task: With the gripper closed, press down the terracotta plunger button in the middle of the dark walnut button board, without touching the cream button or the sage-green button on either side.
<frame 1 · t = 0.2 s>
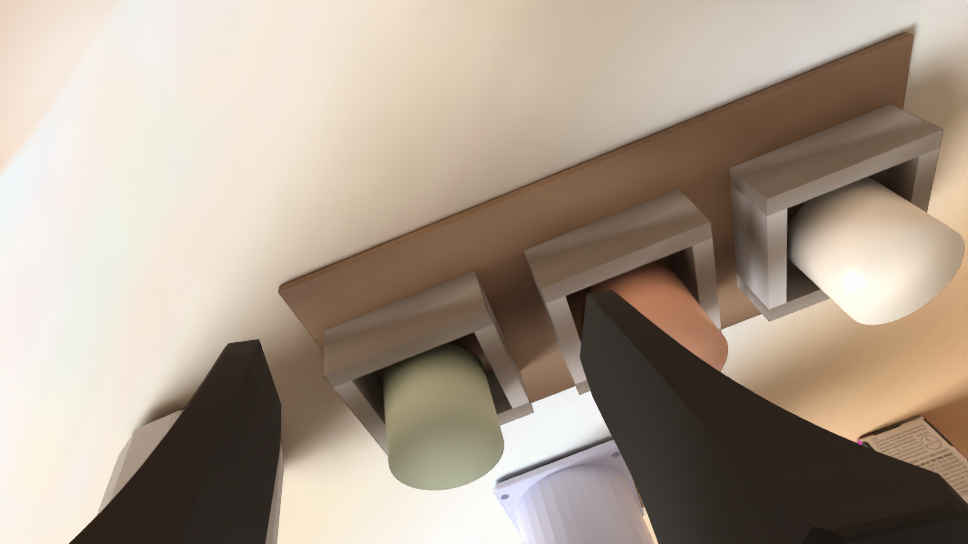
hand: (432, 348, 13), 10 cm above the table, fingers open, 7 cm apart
sage button: (440, 415, 23), point 4 cm above the table, slide at 0.0 cm
candy bar box: (880, 462, 43), on the table
terracotta button: (650, 334, 23), point 4 cm above the table, slide at 0.0 cm
water bottle: (216, 457, 28), on the table
cream button: (867, 249, 22), point 4 cm above the table, slide at 0.0 cm
button board: (611, 273, 26), on the table
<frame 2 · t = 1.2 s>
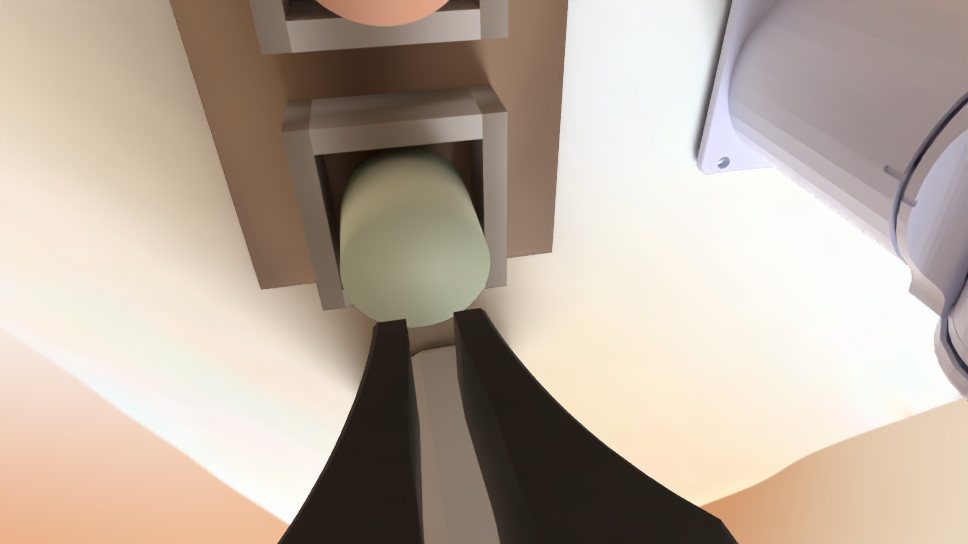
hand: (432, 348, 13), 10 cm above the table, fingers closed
sage button: (411, 236, 18), point 4 cm above the table, slide at 0.0 cm
water bottle: (462, 386, 29), on the table
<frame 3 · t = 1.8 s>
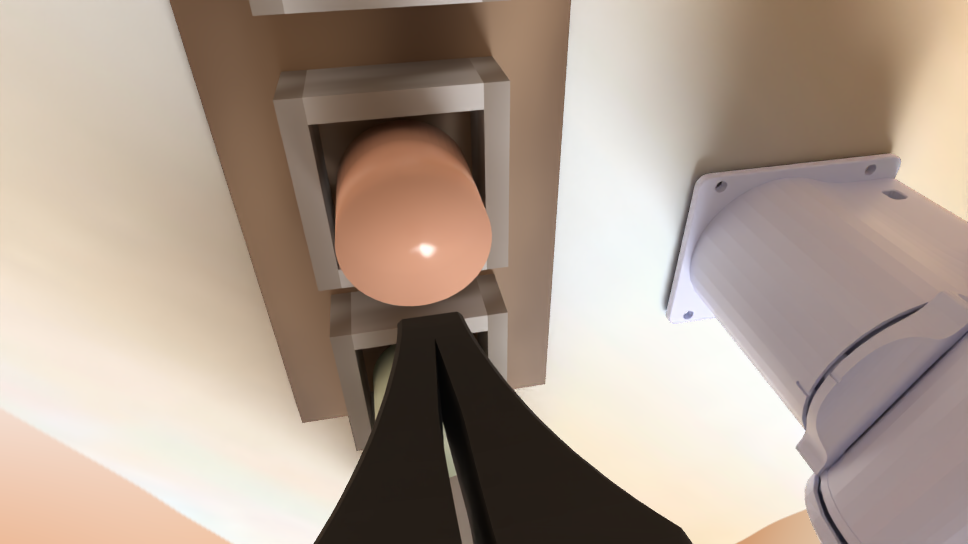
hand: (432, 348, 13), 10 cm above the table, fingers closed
sage button: (430, 406, 23), point 4 cm above the table, slide at 0.0 cm
terracotta button: (409, 211, 18), point 4 cm above the table, slide at 0.0 cm
water bottle: (468, 481, 34), on the table
button board: (399, 155, 21), on the table
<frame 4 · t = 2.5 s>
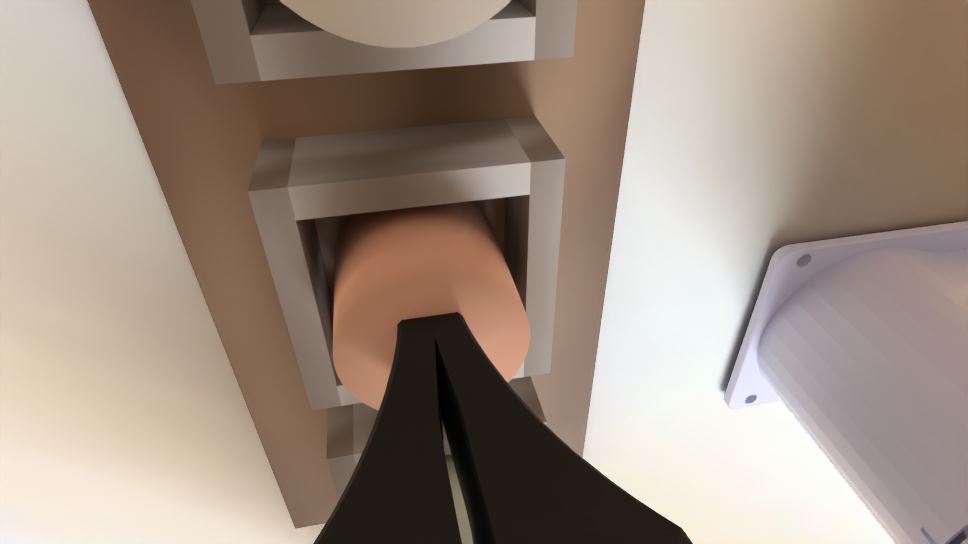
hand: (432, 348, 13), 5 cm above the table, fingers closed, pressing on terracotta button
sage button: (450, 533, 19), point 4 cm above the table, slide at 0.0 cm
terracotta button: (425, 298, 14), point 3 cm above the table, slide at 1.1 cm, touching gripper
button board: (413, 234, 17), on the table
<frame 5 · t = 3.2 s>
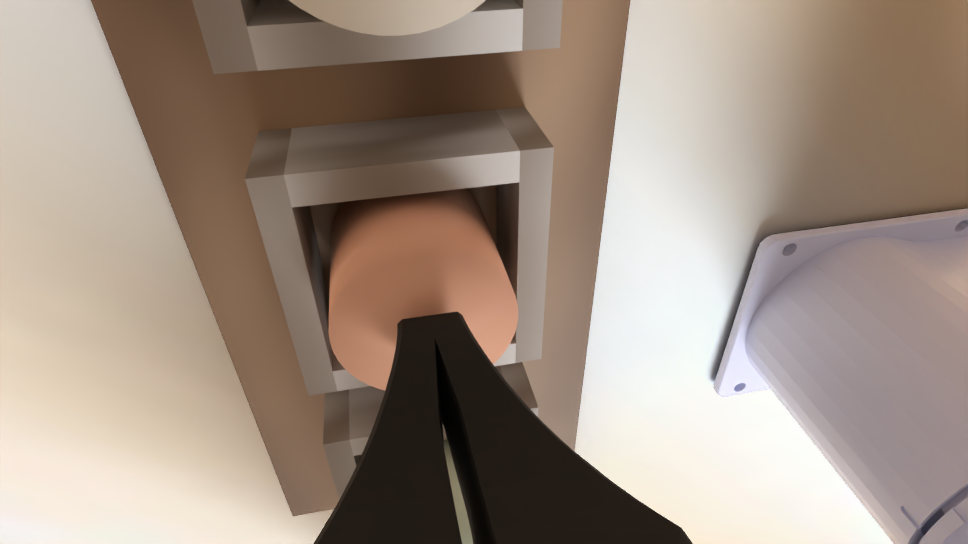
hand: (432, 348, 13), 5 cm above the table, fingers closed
sage button: (445, 517, 19), point 4 cm above the table, slide at 0.0 cm
terracotta button: (417, 279, 15), point 3 cm above the table, slide at 1.3 cm
button board: (407, 223, 17), on the table
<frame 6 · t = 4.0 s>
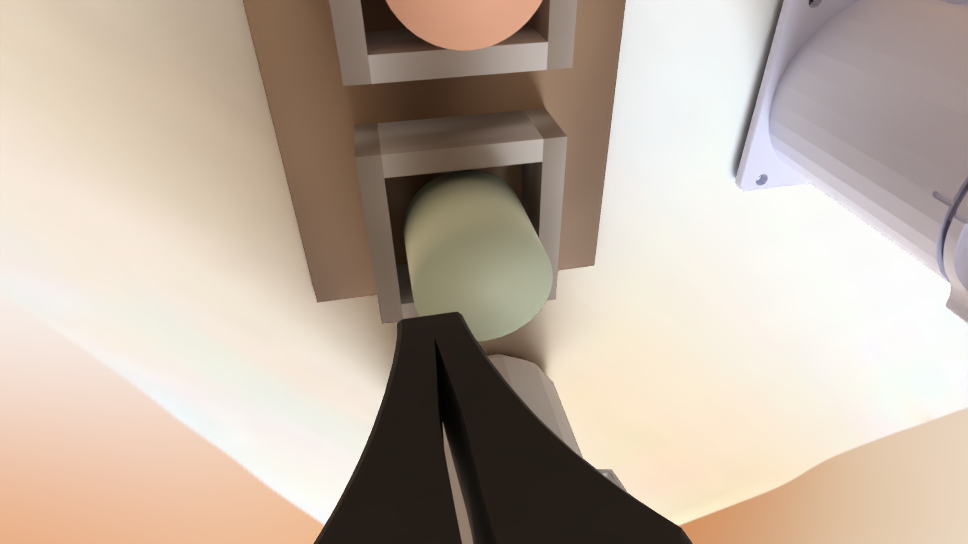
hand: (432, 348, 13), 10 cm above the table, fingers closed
sage button: (473, 254, 19), point 4 cm above the table, slide at 0.0 cm
water bottle: (500, 393, 30), on the table
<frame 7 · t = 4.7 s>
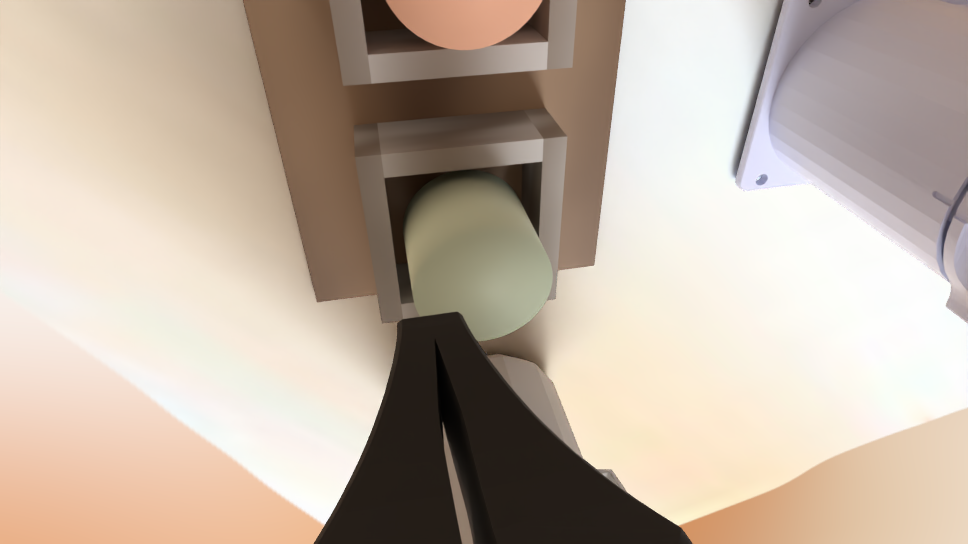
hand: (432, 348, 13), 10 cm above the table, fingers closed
sage button: (473, 254, 19), point 4 cm above the table, slide at 0.0 cm
water bottle: (500, 393, 30), on the table
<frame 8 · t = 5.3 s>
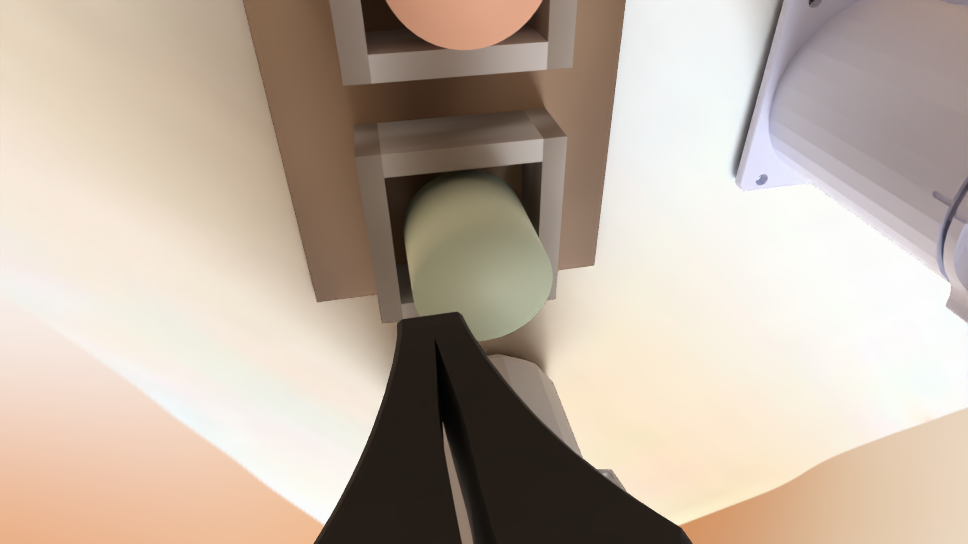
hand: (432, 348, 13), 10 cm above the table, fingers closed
sage button: (473, 254, 19), point 4 cm above the table, slide at 0.0 cm
water bottle: (500, 393, 30), on the table
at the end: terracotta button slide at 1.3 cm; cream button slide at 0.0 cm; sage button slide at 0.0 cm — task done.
